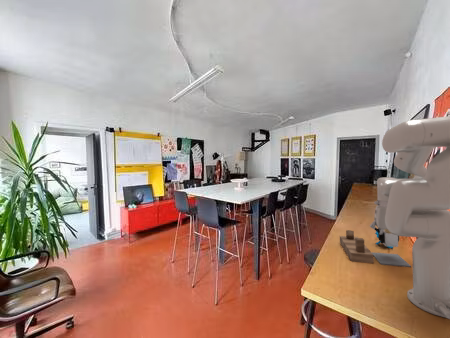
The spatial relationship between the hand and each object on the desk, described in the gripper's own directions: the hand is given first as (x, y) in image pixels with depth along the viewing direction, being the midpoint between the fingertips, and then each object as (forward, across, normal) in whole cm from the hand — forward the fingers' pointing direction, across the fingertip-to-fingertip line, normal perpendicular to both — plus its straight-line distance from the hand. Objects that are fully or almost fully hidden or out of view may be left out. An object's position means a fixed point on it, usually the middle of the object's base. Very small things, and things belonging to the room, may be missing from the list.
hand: (388, 241), depth 93 cm
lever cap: (+1, 0, 0) cm, 1 cm away
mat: (+8, 0, 0) cm, 8 cm away
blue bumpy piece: (+9, +4, +16) cm, 19 cm away
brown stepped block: (+8, -12, +6) cm, 16 cm away
